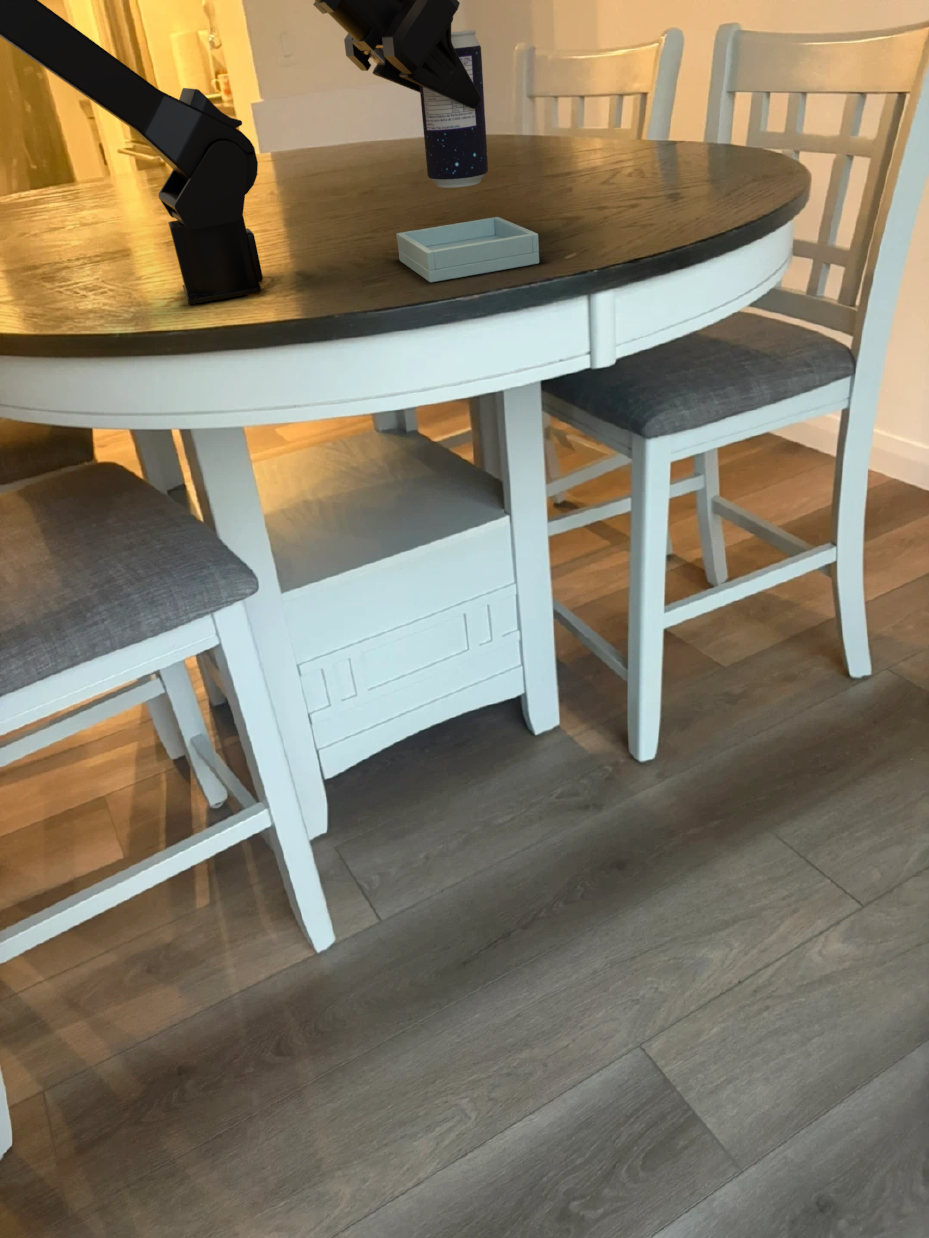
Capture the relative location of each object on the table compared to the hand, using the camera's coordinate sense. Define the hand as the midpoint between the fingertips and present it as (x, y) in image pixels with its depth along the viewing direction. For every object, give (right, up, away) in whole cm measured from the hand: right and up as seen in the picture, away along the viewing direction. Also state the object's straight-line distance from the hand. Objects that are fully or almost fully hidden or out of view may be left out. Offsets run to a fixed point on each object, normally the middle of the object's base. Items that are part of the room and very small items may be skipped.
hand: (467, 102), depth 82 cm
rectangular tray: (0, -14, +1) cm, 14 cm away
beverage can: (-1, -6, +3) cm, 7 cm away
